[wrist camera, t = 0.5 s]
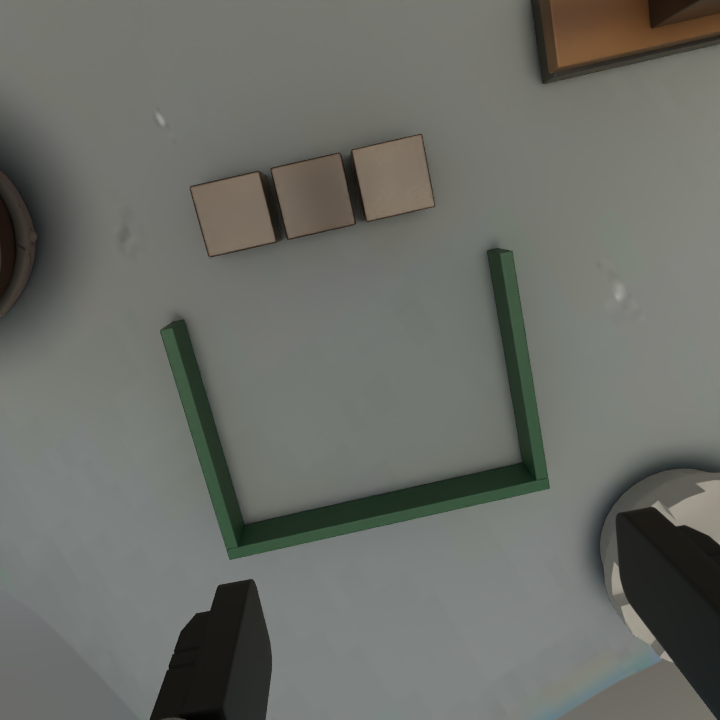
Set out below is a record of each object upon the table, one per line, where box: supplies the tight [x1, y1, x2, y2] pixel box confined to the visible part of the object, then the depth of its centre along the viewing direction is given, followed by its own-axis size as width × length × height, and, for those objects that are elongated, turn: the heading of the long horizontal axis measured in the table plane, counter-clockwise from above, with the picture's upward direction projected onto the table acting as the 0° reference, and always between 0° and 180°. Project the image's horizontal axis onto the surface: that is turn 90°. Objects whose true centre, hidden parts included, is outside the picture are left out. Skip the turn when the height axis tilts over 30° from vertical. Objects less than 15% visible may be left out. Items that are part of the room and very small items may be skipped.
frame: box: [160, 248, 550, 560], centre depth 40 cm, size 16×22×3 cm
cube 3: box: [350, 134, 435, 222], centre depth 36 cm, size 4×4×4 cm
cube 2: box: [271, 153, 356, 240], centre depth 36 cm, size 4×4×4 cm
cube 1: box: [190, 171, 282, 257], centre depth 36 cm, size 4×4×4 cm
